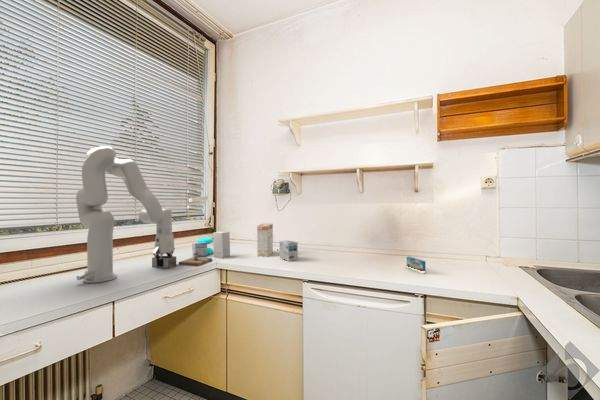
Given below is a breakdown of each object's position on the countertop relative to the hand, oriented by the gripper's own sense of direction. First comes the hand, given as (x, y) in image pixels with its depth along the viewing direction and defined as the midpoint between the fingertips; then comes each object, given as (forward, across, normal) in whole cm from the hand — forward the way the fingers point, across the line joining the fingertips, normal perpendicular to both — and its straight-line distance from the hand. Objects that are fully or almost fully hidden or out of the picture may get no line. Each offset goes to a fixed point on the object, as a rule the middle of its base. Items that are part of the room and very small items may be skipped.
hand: (164, 264), depth 157 cm
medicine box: (+1, +28, -3) cm, 28 cm away
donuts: (+1, +37, -1) cm, 37 cm away
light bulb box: (+1, +34, -59) cm, 68 cm away
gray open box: (+1, 0, 0) cm, 1 cm away
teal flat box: (+1, +24, -129) cm, 131 cm away
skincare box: (+1, +30, -17) cm, 35 cm away
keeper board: (+1, +12, -11) cm, 16 cm away
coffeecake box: (+1, +45, -40) cm, 60 cm away
